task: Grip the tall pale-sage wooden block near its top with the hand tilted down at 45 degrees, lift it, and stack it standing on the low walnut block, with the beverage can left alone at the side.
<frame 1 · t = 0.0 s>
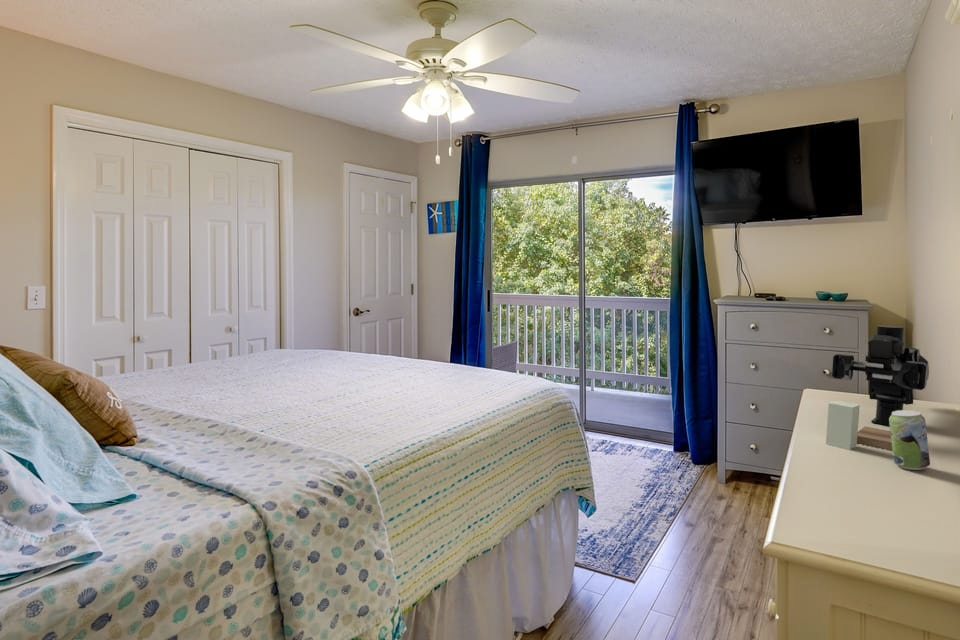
hand: (869, 375, 129), 17 cm above the dresser, tool horizontal, fingers open, 9 cm apart
sage block: (841, 445, 130), on the dresser
walnut block: (883, 445, 132), on the dresser
beverage can: (907, 468, 116), on the dresser
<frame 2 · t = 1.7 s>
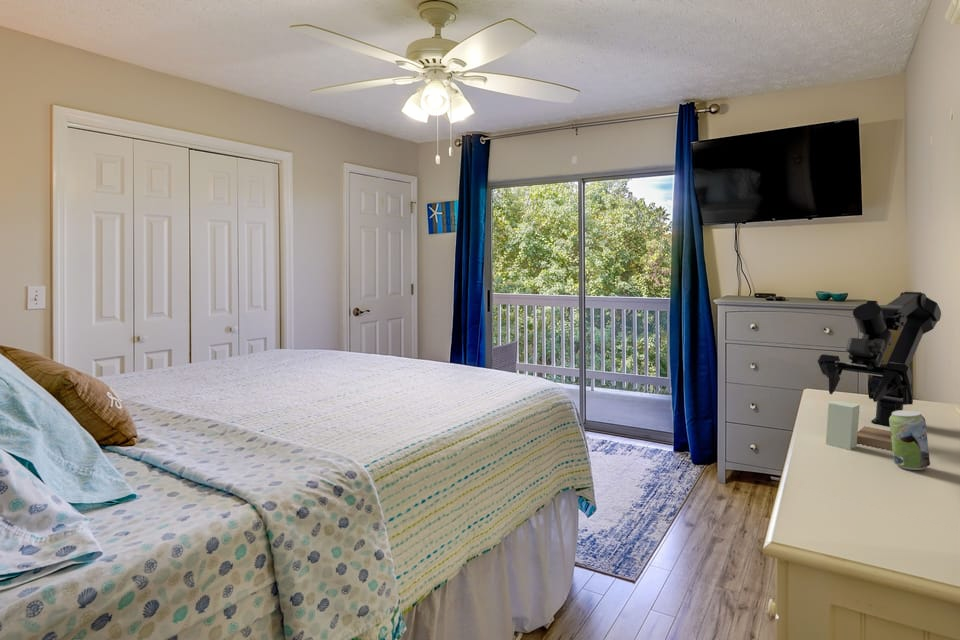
hand: (851, 397, 132), 11 cm above the dresser, tool tilted 45°, fingers open, 9 cm apart
nothing on the dresser moved.
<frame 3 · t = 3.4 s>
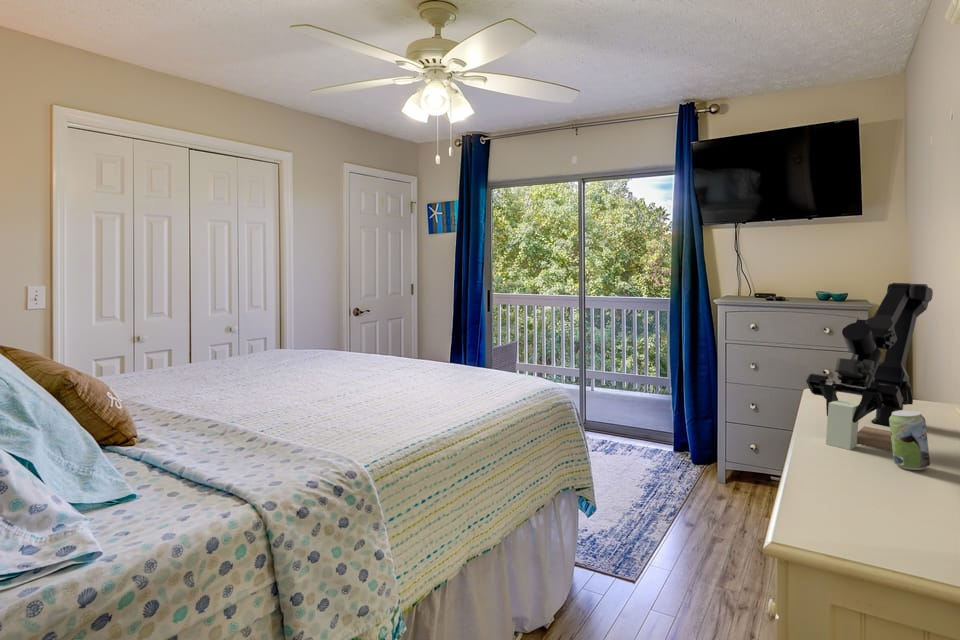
hand: (840, 418, 129), 7 cm above the dresser, tool tilted 45°, fingers closed on sage block, 5 cm apart
sage block: (841, 445, 130), on the dresser, touching gripper
everything else where it was.
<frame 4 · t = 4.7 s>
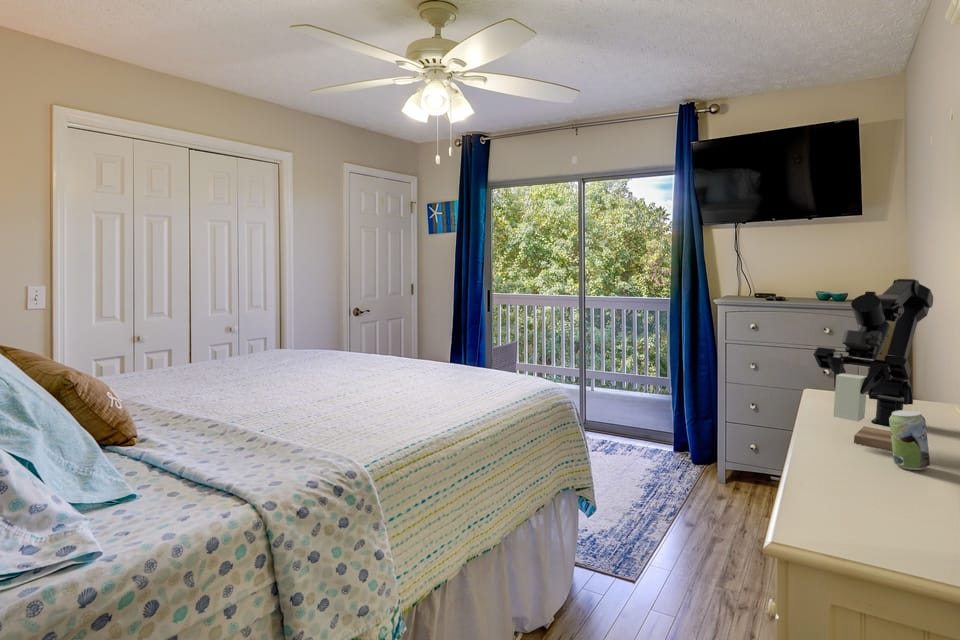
hand: (848, 390, 128), 13 cm above the dresser, tool tilted 45°, fingers closed on sage block, 5 cm apart
sage block: (848, 417, 130), point 7 cm above the dresser, touching gripper
everything else where it was.
when the fingers open (10 cm above the dresser, at t = 6.4 s): sage block drops 1 cm, point 2 cm above the dresser.
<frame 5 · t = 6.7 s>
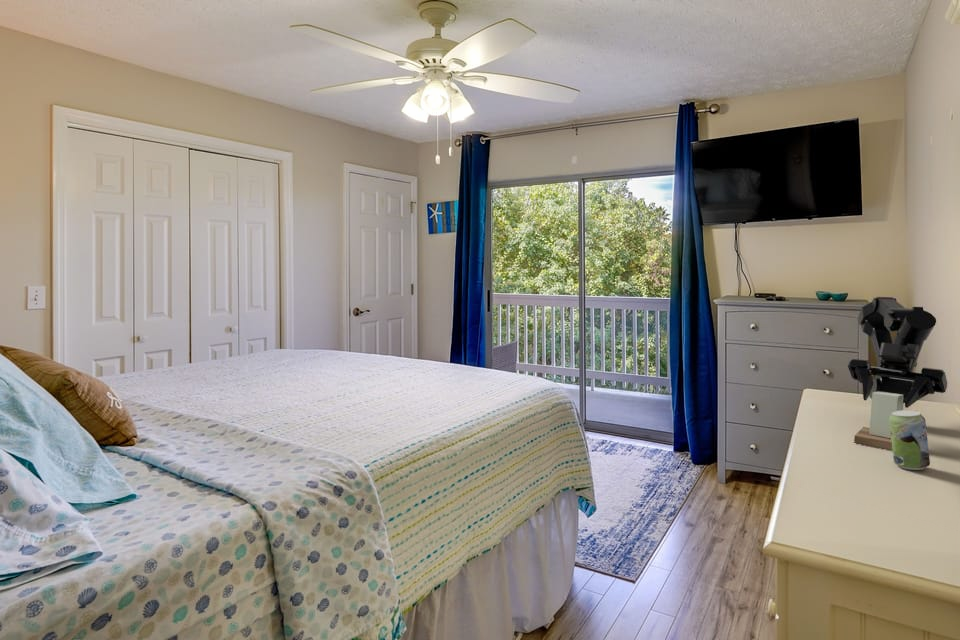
hand: (884, 403, 130), 10 cm above the dresser, tool tilted 45°, fingers open, 8 cm apart
sage block: (884, 435, 131), point 2 cm above the dresser
everything else where it was.
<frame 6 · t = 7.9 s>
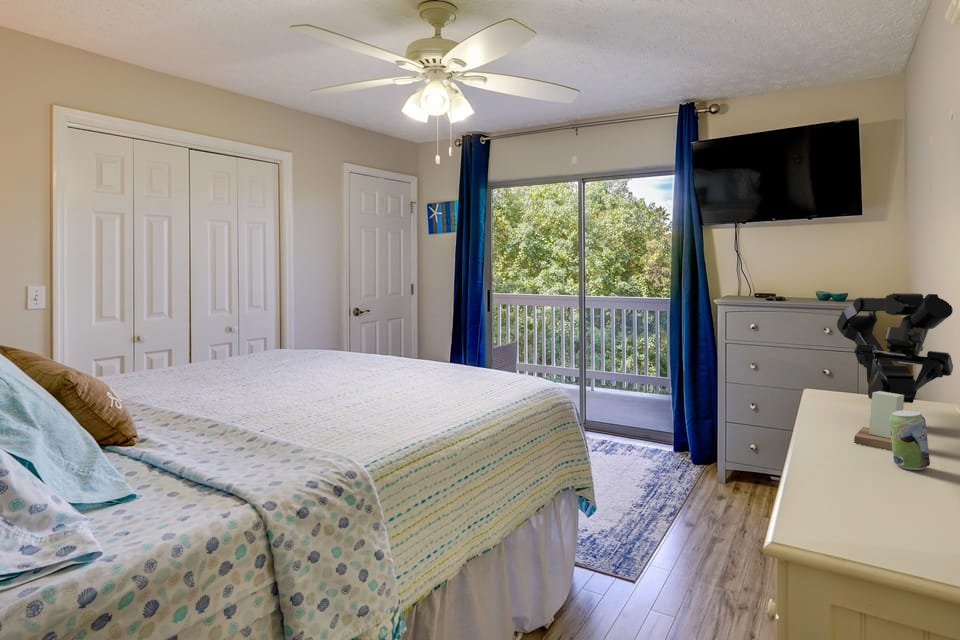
hand: (890, 386, 132), 14 cm above the dresser, tool tilted 45°, fingers open, 9 cm apart
sage block: (884, 435, 132), point 2 cm above the dresser, touching walnut block
walnut block: (883, 445, 132), on the dresser, touching sage block
everything else where it was.
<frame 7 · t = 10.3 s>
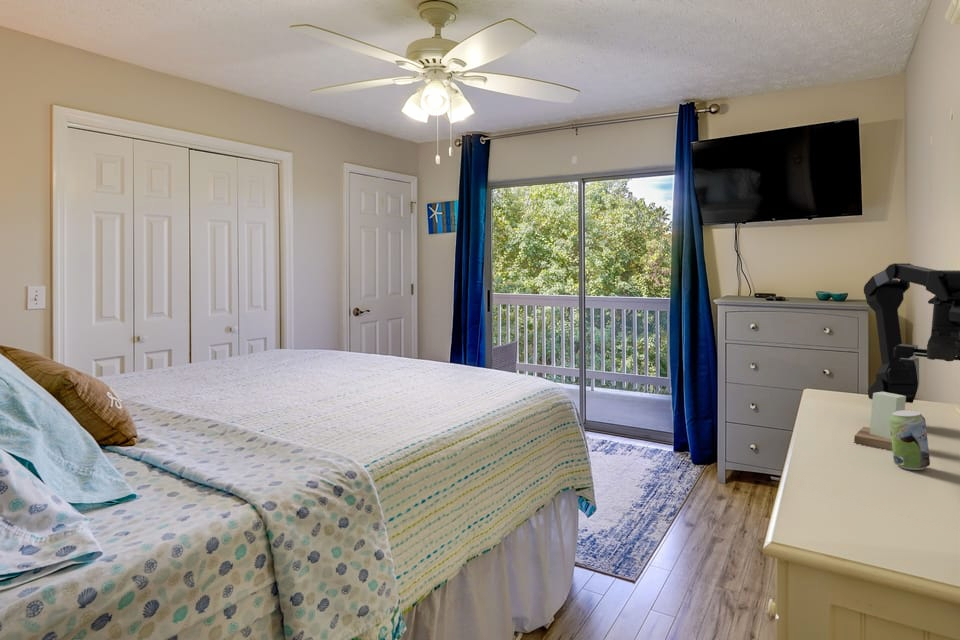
hand: (941, 391, 128), 13 cm above the dresser, tool pointing down, fingers open, 9 cm apart
at the end: sage block inside the target area on the walnut block (0.3 cm from its centre), point 2.5 cm above the walnut block's base; sage block tilted 0°; the gripper is holding nothing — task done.
